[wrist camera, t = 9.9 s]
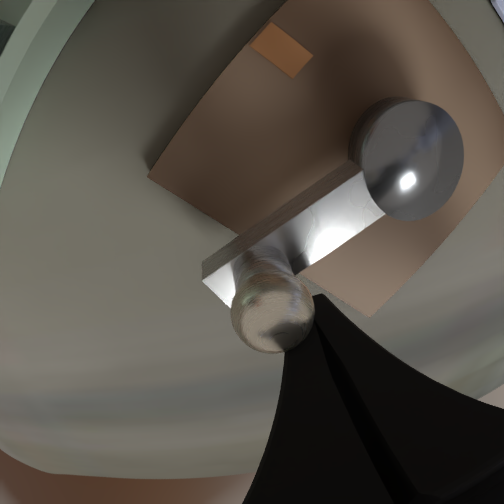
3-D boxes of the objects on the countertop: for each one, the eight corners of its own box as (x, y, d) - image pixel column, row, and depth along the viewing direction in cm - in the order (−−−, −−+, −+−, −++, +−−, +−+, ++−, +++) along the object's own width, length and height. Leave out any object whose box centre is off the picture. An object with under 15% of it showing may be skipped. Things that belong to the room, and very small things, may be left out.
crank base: (356, -61, 6) (371, -72, 5) (510, 141, 11) (527, 149, 10) (149, 172, 10) (142, 184, 9) (365, 310, 14) (375, 328, 13)
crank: (416, 77, 8) (511, 95, 4) (452, 169, 9) (531, 218, 6) (180, 238, 10) (170, 330, 6) (250, 308, 11) (268, 400, 8)
